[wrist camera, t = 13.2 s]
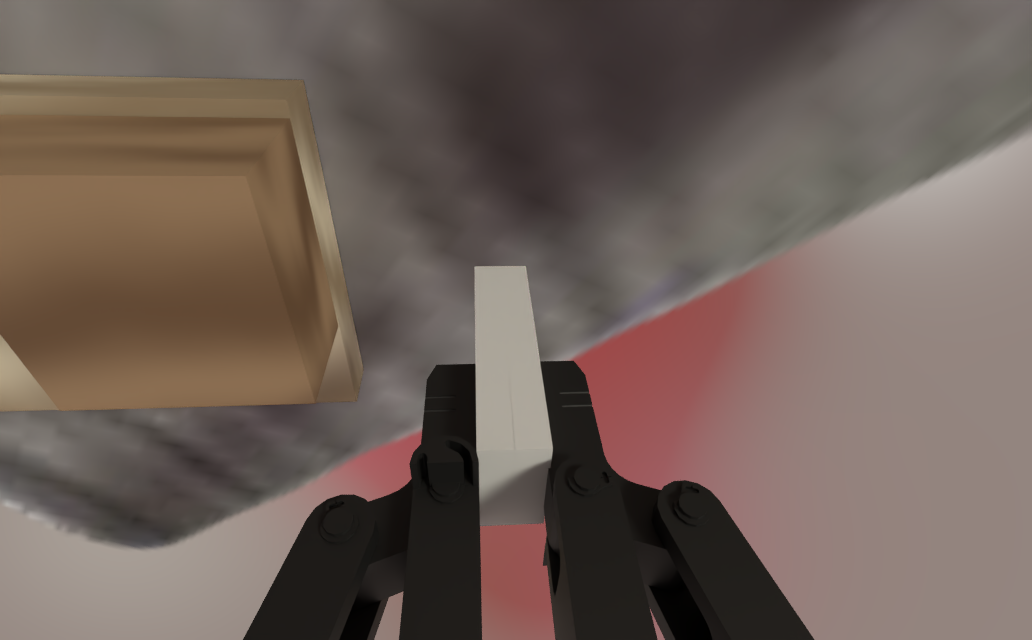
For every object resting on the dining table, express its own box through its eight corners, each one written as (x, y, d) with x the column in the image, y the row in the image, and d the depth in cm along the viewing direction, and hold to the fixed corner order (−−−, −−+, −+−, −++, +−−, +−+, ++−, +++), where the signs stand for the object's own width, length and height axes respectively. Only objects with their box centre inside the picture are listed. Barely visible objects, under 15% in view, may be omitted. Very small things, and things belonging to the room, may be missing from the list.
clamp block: (-2, 114, 15) (-125, 174, 12) (290, 118, 15) (245, 176, 12) (122, 329, 20) (59, 410, 17) (338, 326, 21) (315, 403, 17)
